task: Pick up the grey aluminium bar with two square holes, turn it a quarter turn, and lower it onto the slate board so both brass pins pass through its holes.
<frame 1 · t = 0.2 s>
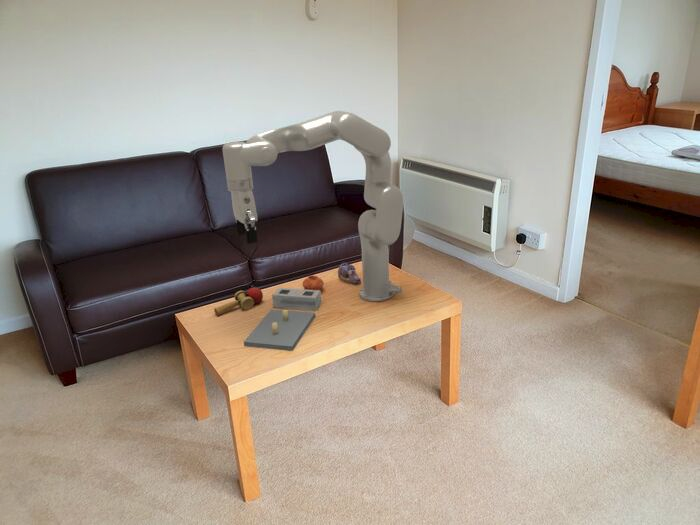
hand: (247, 238, 162), 31 cm above the table, tool pointing down, fingers open, 9 cm apart
pot: (313, 292, 195), on the table
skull: (350, 281, 203), on the table
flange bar: (297, 305, 185), on the table
pin board: (281, 330, 168), on the table
kendama: (240, 308, 185), on the table
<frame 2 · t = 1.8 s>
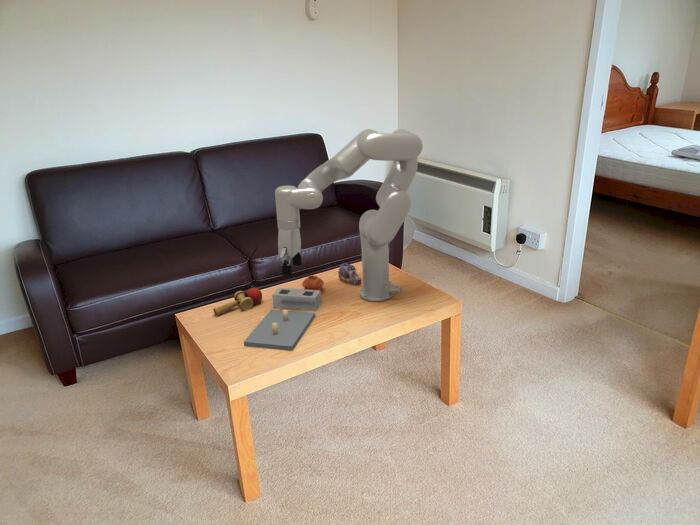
hand: (292, 270, 180), 14 cm above the table, tool pointing down, fingers open, 9 cm apart
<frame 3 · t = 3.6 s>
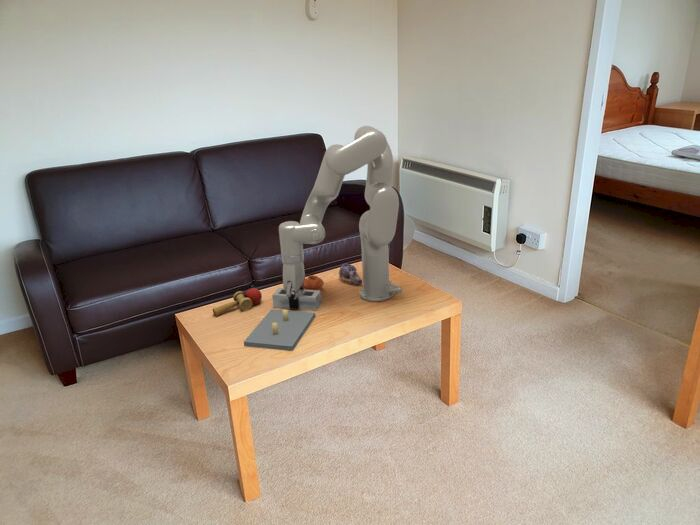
hand: (297, 303, 185), 1 cm above the table, tool pointing down, fingers closed on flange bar, 6 cm apart
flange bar: (297, 305, 185), on the table, touching gripper
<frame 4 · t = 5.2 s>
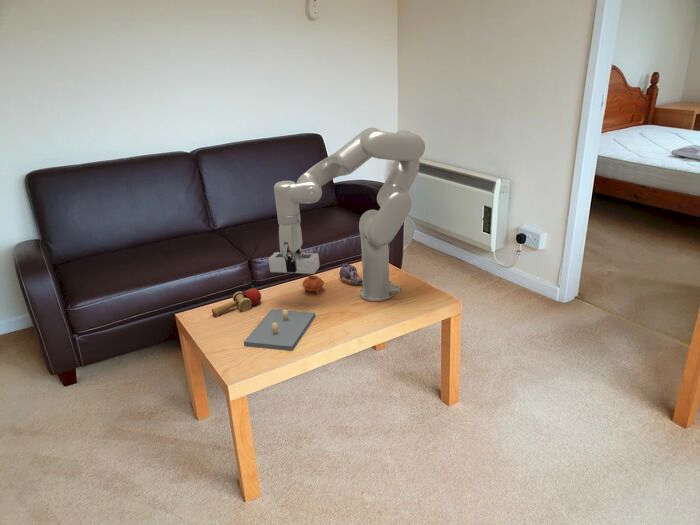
hand: (294, 267, 179), 15 cm above the table, tool pointing down, fingers closed on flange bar, 6 cm apart
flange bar: (295, 269, 180), point 14 cm above the table, touching gripper
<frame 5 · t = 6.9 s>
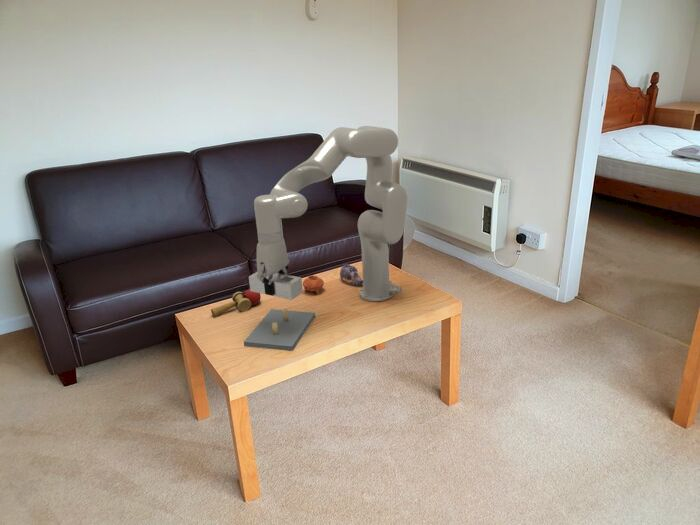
hand: (276, 290, 163), 15 cm above the table, tool pointing down, fingers closed on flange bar, 6 cm apart
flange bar: (276, 291, 163), point 14 cm above the table, touching gripper
when the fingers open (3 cm above the table, at t = 9.8 s): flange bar stays where it is, resting on pin board.
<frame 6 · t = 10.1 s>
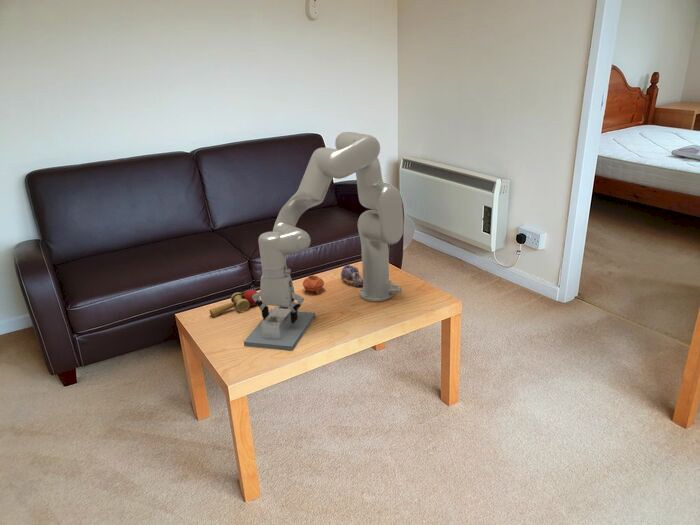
hand: (280, 320, 167), 4 cm above the table, tool pointing down, fingers open, 9 cm apart
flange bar: (281, 326, 168), point 1 cm above the table, touching pin board
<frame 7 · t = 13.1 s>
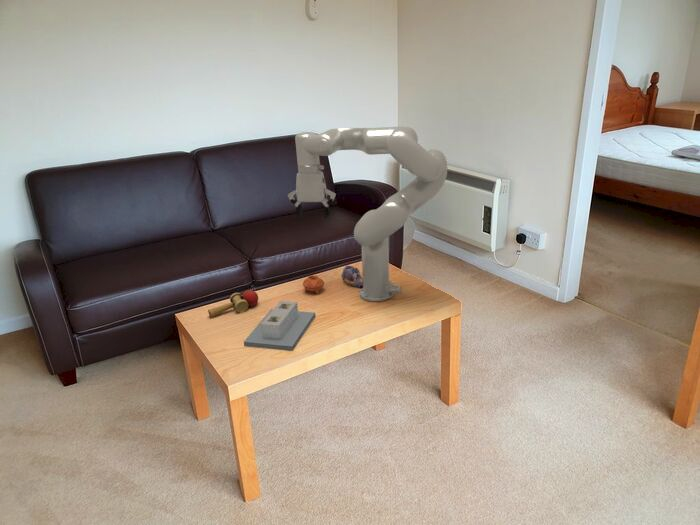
hand: (313, 216, 185), 29 cm above the table, tool pointing down, fingers open, 9 cm apart
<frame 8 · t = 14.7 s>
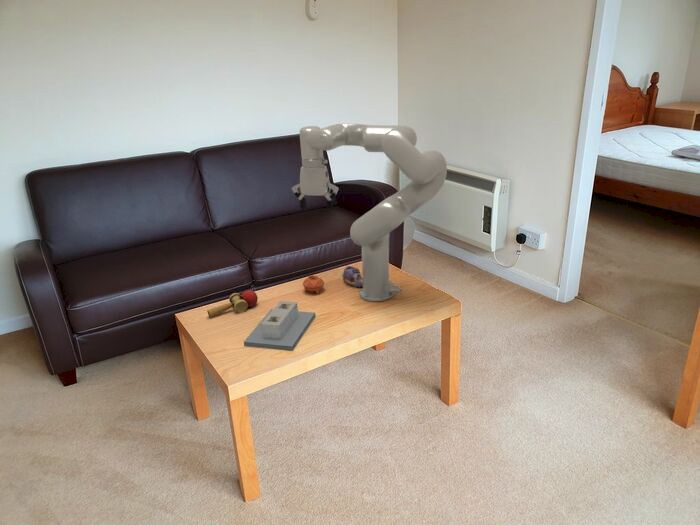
hand: (316, 210, 187), 30 cm above the table, tool pointing down, fingers open, 9 cm apart
at the end: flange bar 0.1 cm off-centre on the pin board, point 1.5 cm above the pin board's base; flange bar tilted 0°; the gripper is holding nothing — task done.
